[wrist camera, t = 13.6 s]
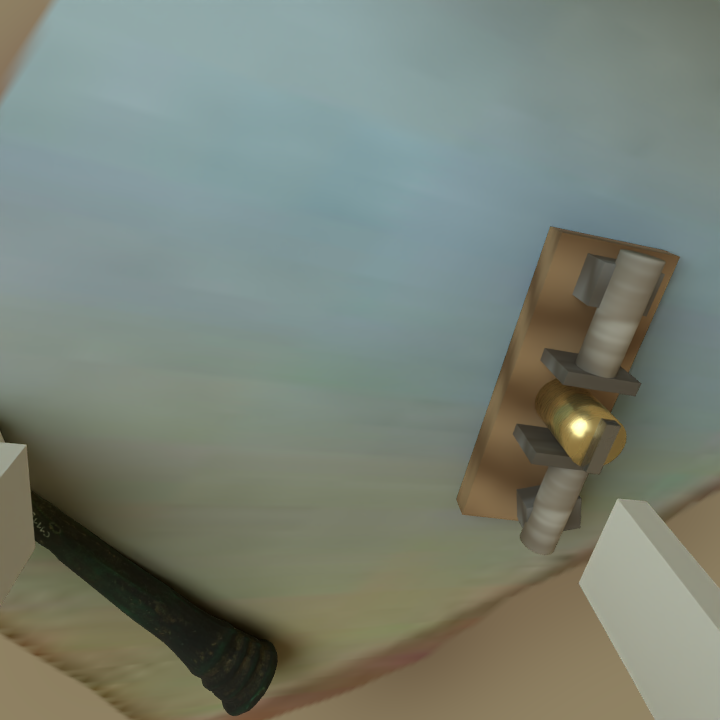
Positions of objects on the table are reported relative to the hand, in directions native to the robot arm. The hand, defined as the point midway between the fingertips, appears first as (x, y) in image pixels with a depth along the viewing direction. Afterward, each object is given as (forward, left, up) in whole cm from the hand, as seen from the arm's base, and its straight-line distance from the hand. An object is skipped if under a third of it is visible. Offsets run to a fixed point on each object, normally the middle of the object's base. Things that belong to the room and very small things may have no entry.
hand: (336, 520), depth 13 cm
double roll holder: (+8, +21, -28) cm, 36 cm away
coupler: (+8, +21, -26) cm, 34 cm away
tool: (+33, -10, -29) cm, 45 cm away
